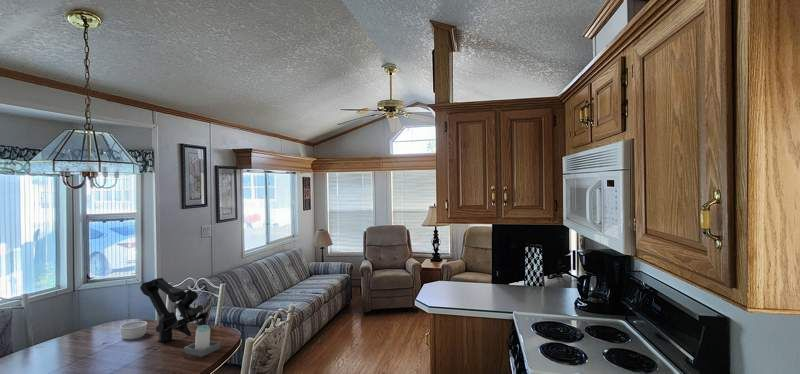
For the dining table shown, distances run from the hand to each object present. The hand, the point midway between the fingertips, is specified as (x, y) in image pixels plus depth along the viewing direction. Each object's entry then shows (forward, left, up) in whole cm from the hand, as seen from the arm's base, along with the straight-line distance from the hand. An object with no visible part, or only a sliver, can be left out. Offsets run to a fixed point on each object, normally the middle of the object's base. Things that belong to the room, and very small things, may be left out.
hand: (198, 333), depth 204 cm
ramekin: (-49, -2, -9) cm, 50 cm away
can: (+4, 0, -8) cm, 9 cm away
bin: (+4, 0, -9) cm, 10 cm away
